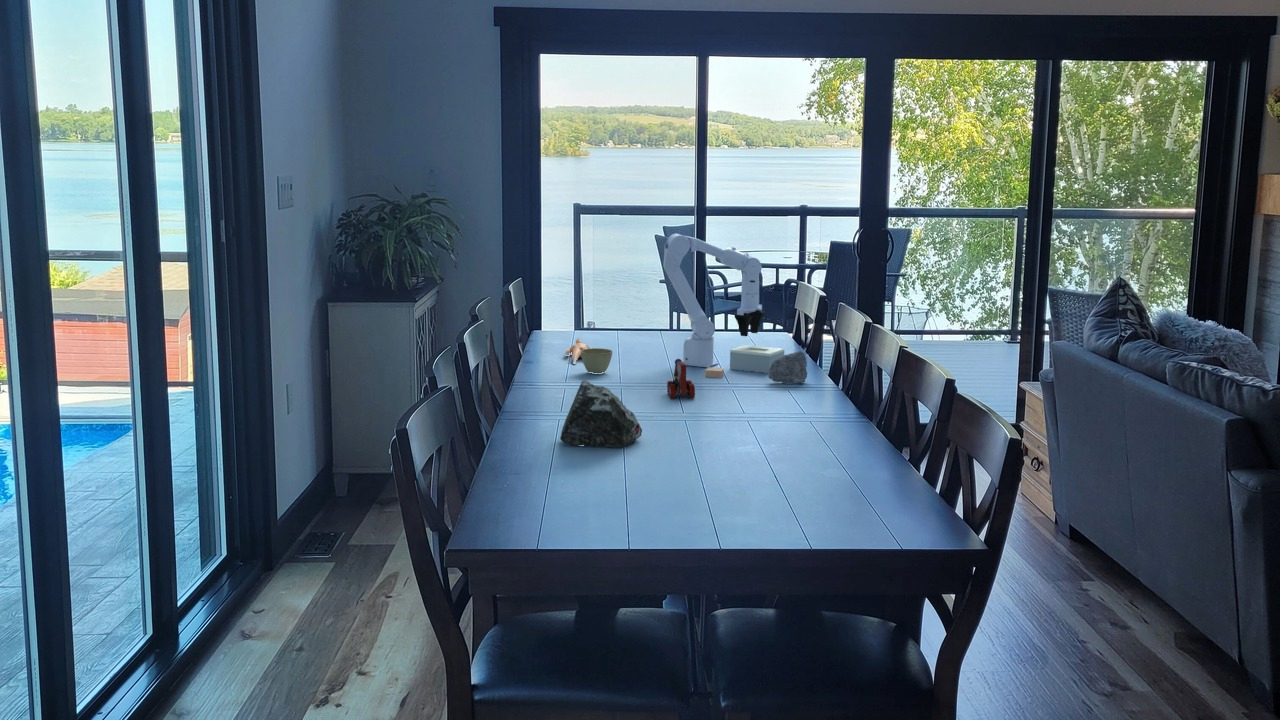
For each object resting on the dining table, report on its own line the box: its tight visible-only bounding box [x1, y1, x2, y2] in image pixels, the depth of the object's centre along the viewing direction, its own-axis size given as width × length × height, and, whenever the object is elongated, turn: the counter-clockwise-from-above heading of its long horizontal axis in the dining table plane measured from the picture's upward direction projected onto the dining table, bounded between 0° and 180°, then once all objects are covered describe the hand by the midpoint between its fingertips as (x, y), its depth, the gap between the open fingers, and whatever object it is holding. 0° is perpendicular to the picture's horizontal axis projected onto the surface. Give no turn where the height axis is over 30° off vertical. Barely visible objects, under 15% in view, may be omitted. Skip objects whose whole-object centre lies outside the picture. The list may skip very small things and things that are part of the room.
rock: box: [767, 350, 808, 384], centre depth 328 cm, size 12×5×10 cm, turn 87°
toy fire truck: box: [666, 358, 696, 400], centre depth 308 cm, size 7×12×10 cm, turn 6°
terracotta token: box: [704, 366, 725, 379], centre depth 339 cm, size 5×5×2 cm
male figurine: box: [564, 338, 591, 362], centre depth 368 cm, size 11×5×25 cm
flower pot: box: [580, 347, 613, 373], centre depth 341 cm, size 10×10×7 cm
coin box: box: [729, 344, 785, 374], centre depth 351 cm, size 14×11×6 cm
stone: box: [559, 379, 643, 449], centre depth 255 cm, size 19×18×15 cm
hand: (749, 334), depth 358 cm, fingers open, 7 cm apart
